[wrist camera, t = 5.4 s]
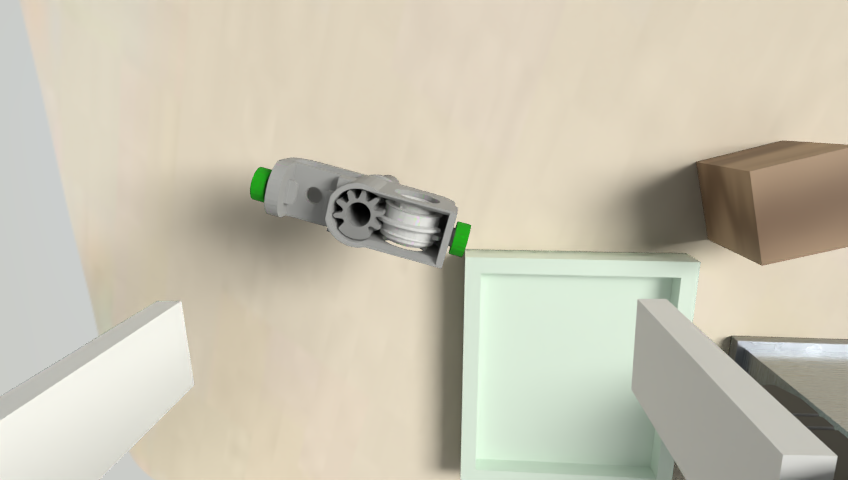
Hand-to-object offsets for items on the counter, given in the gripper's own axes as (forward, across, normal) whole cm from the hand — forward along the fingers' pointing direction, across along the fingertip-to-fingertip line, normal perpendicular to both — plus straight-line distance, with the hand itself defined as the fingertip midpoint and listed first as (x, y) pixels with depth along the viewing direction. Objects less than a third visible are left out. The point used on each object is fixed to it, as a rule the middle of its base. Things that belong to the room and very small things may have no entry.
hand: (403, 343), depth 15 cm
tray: (+19, +8, -10) cm, 23 cm away
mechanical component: (+19, -3, +2) cm, 20 cm away
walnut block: (+19, +19, +1) cm, 27 cm away
